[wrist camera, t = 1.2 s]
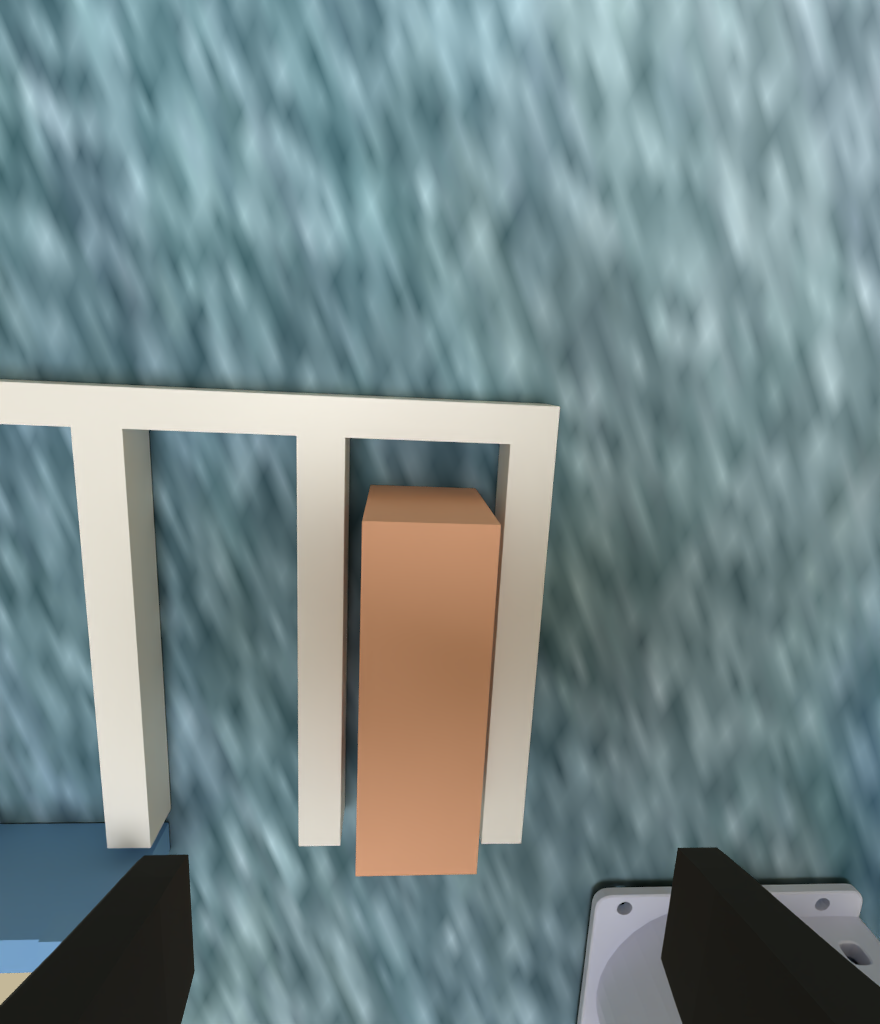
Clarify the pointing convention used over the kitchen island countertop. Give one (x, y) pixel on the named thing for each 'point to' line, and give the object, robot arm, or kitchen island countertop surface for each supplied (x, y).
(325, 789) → the comb organizer
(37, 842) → the blue bracket
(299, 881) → the kitchen island countertop surface
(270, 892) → the kitchen island countertop surface
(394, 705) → the tall peach block
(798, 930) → the robot arm
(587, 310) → the kitchen island countertop surface
